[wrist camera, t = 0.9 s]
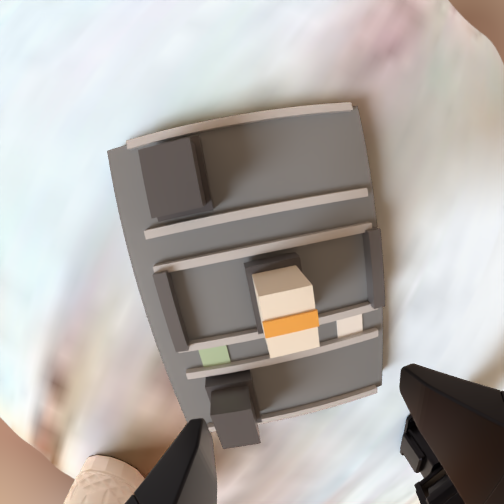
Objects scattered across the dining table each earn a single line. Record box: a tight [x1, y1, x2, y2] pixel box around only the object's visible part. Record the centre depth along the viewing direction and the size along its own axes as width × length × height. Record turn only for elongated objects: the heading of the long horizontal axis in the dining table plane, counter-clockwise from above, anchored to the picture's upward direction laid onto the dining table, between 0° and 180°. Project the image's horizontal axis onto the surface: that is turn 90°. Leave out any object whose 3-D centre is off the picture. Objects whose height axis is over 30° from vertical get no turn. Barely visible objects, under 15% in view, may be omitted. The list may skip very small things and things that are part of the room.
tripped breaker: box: [244, 252, 320, 358], centre depth 16 cm, size 3×4×5 cm
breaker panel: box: [107, 102, 385, 449], centre depth 17 cm, size 15×20×5 cm
